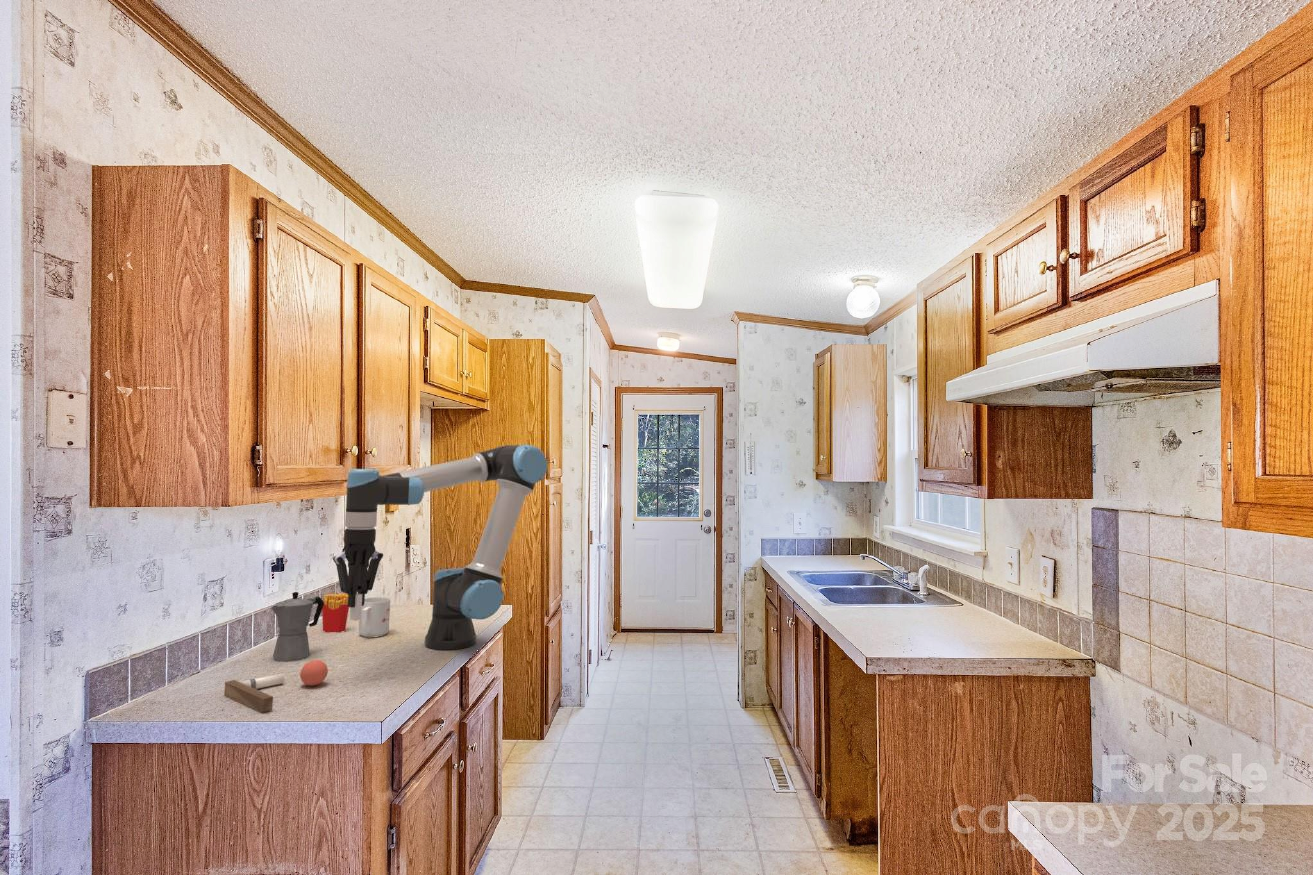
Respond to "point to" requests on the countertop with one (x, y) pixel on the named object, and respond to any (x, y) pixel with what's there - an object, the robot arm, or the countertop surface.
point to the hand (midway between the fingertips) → (355, 619)
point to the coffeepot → (294, 627)
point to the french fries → (335, 612)
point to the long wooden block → (248, 696)
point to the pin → (265, 681)
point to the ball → (313, 672)
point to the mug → (375, 617)
